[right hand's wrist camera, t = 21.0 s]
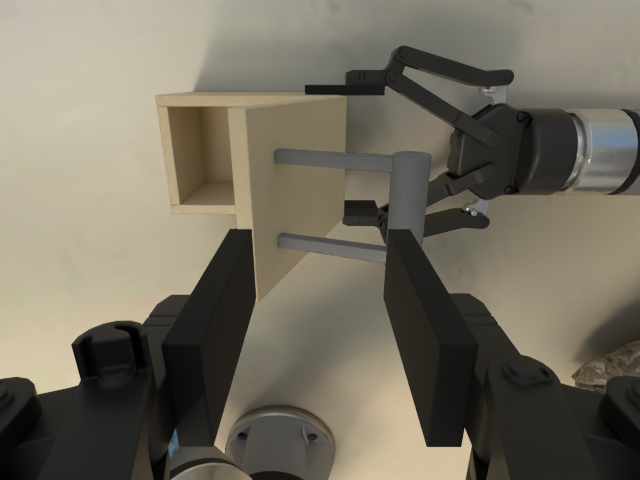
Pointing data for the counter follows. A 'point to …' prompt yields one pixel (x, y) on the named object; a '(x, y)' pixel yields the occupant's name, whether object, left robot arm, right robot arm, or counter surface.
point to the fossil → (609, 367)
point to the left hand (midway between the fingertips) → (306, 152)
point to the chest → (204, 146)
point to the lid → (310, 183)
